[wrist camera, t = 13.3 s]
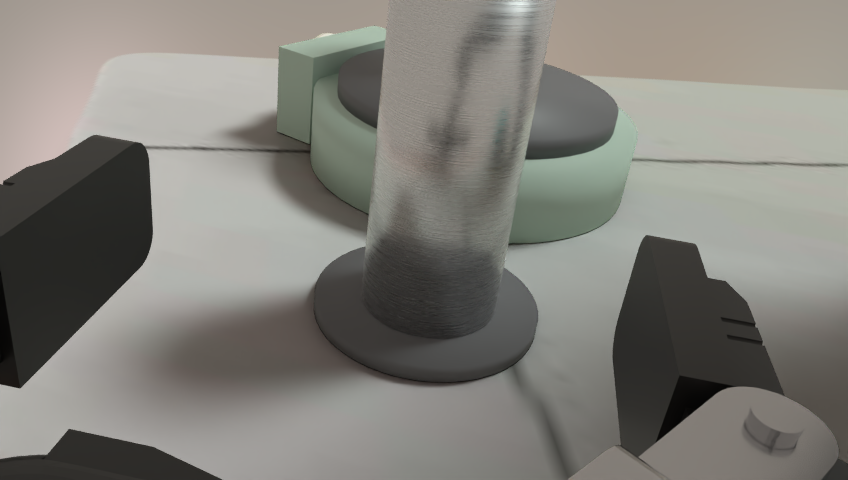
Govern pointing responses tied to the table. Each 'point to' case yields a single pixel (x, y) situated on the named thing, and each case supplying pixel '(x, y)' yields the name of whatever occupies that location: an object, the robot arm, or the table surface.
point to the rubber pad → (416, 355)
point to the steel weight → (450, 158)
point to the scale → (546, 152)
